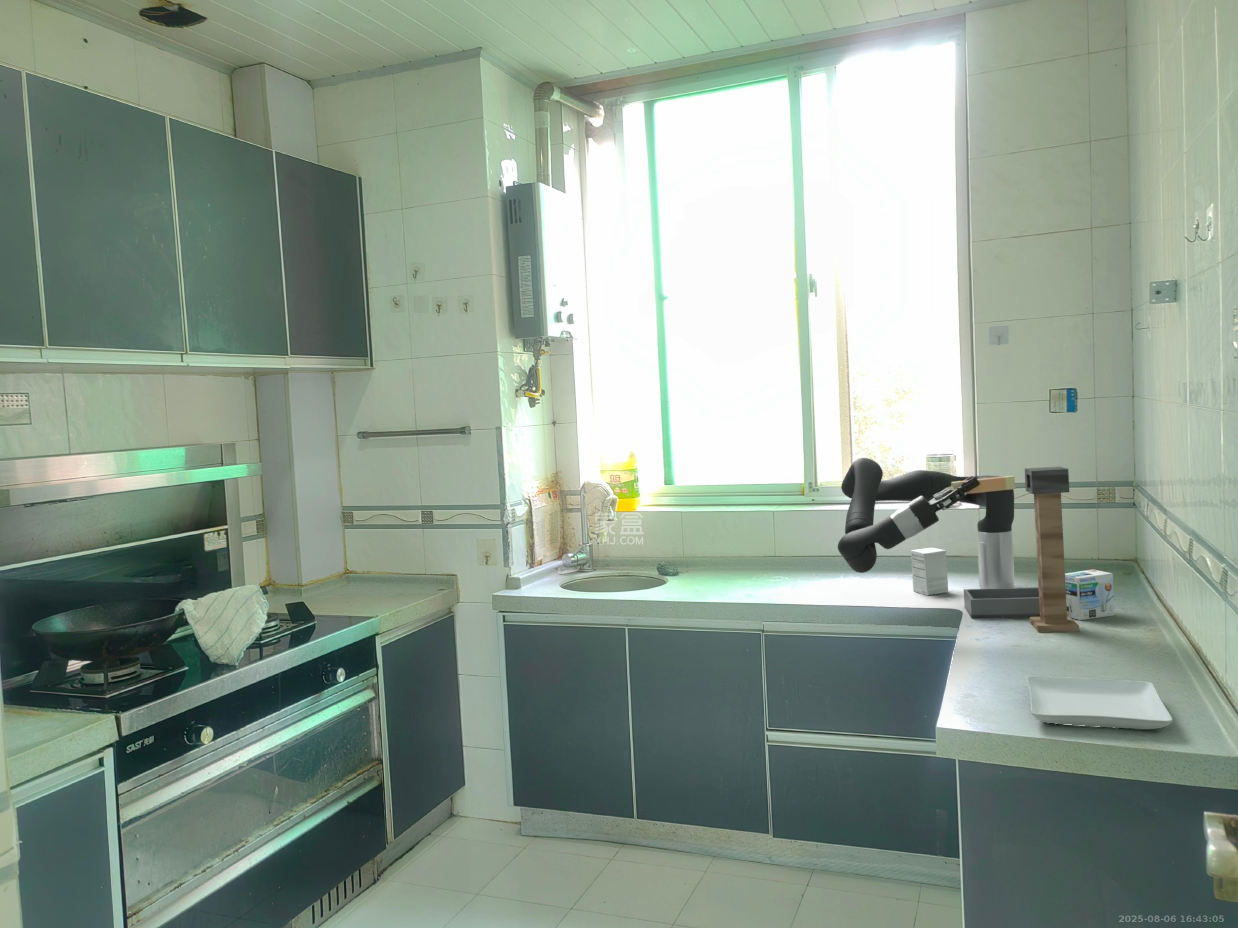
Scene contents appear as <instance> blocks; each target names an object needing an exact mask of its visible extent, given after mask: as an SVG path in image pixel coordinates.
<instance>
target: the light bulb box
mask: <svg viewBox="0 0 1238 928" xmlns="http://www.w3.org/2000/svg"><path fill="white" fill-rule="evenodd" d="M1065 584H1066V604H1067V616H1069V617H1070V618H1072V619H1073V620H1074V619H1075V620H1079V621H1084V620H1085V621H1086V620H1090V619H1091V620H1093V619H1097V618H1106V617H1112V616H1115V600H1114V599H1115V597H1114V596H1115V595H1114V594H1115V593H1114V573H1112V572H1106V571H1103V570H1097V569H1088V570H1087V569H1086V570H1080V571H1079V570H1078V571H1074V572H1068V573H1066V572H1065Z"/></svg>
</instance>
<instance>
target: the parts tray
mask: <svg viewBox="0 0 1238 928" xmlns="http://www.w3.org/2000/svg"><path fill="white" fill-rule="evenodd" d="M963 603H964V609H965V610H966V612H967V613H968V616H969V617H970V619H971V620H978V619H979V620H982V619H984V620H985V619H988V620H989V619H1024V618H1025V619H1028V618H1029V619H1030V617H1040V606H1039V587H1038V586H1037V587H1015V588H995V589H981V588H967V589H965V588H963Z"/></svg>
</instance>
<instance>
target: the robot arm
mask: <svg viewBox="0 0 1238 928" xmlns="http://www.w3.org/2000/svg"><path fill="white" fill-rule="evenodd" d="M883 475H884V473H883V470H882V467H881V466H880V464H879V463H877V462H876V461H875V460H873V459H871V458H868V457H860V458H857V459H855V460H854V461H853V462H852V463H851V465H850V466H849V468H848V470H847V472H846V474H845V476H844V478H843V480H842V483H841V484H840V485H841V487H840V489H841V492H842V494H844V495H845V496H846V497H847V498H848V499H851V501H850V502H849V506H848V509H847V512H846V519H845V526H844V535H843V536H841V538H840V539H839V541H838V544H837V550H838V552H839V554H840V555H841V556H842V558H843V559H844V560H845V562H846V563H847V564H848V566H849V567H850V568H851V570H853V572H856V573H862V574H863V573H864V574H865V573H867V572H869V571H870V570H872V569H873V567H874V566H875V565H876V561H877V557H878V553H877V546H876V544H878V545H880V546H881V547H882V548H884V549H885V550H890V549H892V548H894V547H896V546H897V545H899V544H901V543H903V542H905V541H906V540H908V539H909V538H912V537H914V536H917V535H918V534H920V533H921V532H923V531H924V530H925V531H926V529H928V528H929V527H932V526H933V525H934V524H936V523H939V521H940V518H939V516H938V515H937V512H938V511H941V510H942V511H945V510H948V509H950V507H951V506H953V505H955V504H956V503H958V502H960V503H967V504H972V505H976V506H981V507H984V508H985V516H984V517H983V518H982V519H979V520H978V522H977V539H978V556H977V567H978V581H979V582H978V584H979V585H978V586H979V588H980V589H995V588H1016V586H1015V585H1016V584H1015V582H1016V581H1015V567H1014V565H1015V564H1014V549H1013V548H1014V547H1013V546H1014V545H1013V531H1012V528H1013V527H1012V526H1013V522H1014V519H1015V492H1014V490H1015V489H1009V490H1000V491H990V492H980V493H971V494H967V493H966V492H969V491H970V490H972V489H974V488H975V487H977V486H979V485H980V483H979V481H978V480H977V479H983V478H993V477H1001V476H998V475H976V476H974V475H970V476H957V475H954V474H953V475H952V474H949V473H946V472H942V471H941V472H940V471H935V470H934V471H933V470H924V469H923V470H922V469H920V470H919V469H918V470H917V469H916V470H912V471H908V472H906V473H902V474H899V475H897V476H895V477H892V478H889V479H885V480H882V479H883ZM965 480H968V481H967V482H965V483H963V484H962V485H959V486H958V487H956V488H954V489H952V485H951V482H955V481H965ZM956 492H957V493H958V494H959V495H956V494H955V493H956ZM886 501H887V502H888V501H889V502H890V501H891V502H893V501H895V502H896V501H897V502H908V503H907V504H904V505H902V507H899V509H897V510H896V511H894V512H893V513H892V514H891V515H889V516H888V517H886V518H884V519H882V520H880V521H879V522H878V523H876V524H874V522H875V520H874V515H875V507H876V502H886Z"/></svg>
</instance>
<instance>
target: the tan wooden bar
mask: <svg viewBox="0 0 1238 928" xmlns="http://www.w3.org/2000/svg"><path fill="white" fill-rule="evenodd" d="M977 480H978V481H979V483H980V485H979V486H977V487H975V488H974V489H972V490H970V491H969V492H966V493H967V494H971V493H980V492H990V491H1000V490H1009V489H1013V490H1016V480H1015V476H1014V475H1012V474H1011V475H1004V476H1003V475H1002V476H1000V477H993V478H983V479H977ZM967 481H968V480H965V481H955V482H951V485H952V489H954V488H956V487H958V486H959V485H962V484H963V483H965V482H967ZM955 494H956V495H959V494H958V493H957V492H956V493H955Z"/></svg>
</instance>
